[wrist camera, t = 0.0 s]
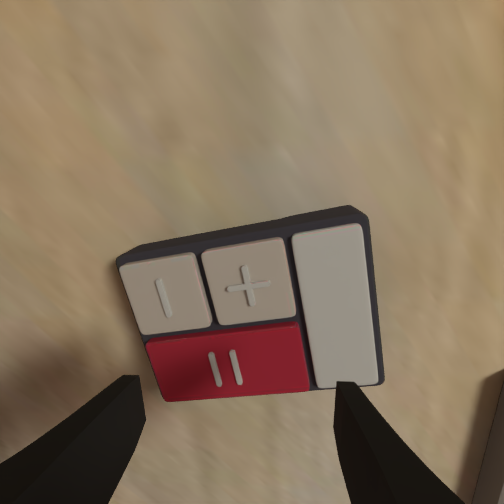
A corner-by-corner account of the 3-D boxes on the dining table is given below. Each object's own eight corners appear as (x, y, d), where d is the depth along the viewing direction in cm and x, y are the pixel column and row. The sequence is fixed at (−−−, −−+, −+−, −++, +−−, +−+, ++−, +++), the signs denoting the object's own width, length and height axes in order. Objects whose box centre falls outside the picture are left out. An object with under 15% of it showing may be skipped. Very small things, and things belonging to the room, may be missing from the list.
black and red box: (104, 261, 17) (373, 214, 14) (140, 242, 21) (354, 203, 18) (158, 411, 19) (390, 395, 17) (181, 369, 24) (370, 351, 21)
